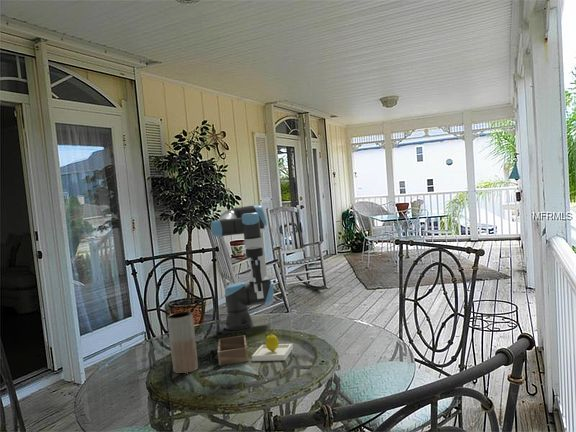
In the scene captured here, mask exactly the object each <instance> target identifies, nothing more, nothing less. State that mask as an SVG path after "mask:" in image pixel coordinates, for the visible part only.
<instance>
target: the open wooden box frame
mask: <svg viewBox="0 0 576 432" xmlns="http://www.w3.org/2000/svg"><path fill="white" fill-rule="evenodd" d="M217 342H218V343H217V344H218V345H217V360H218V366H225V365H231V364H238V363H244V362H249V355H248V347H247V346H248V345H247V339H246V335H245V334H244V335H235V336H229V337H223V338H218V341H217Z"/></svg>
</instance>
